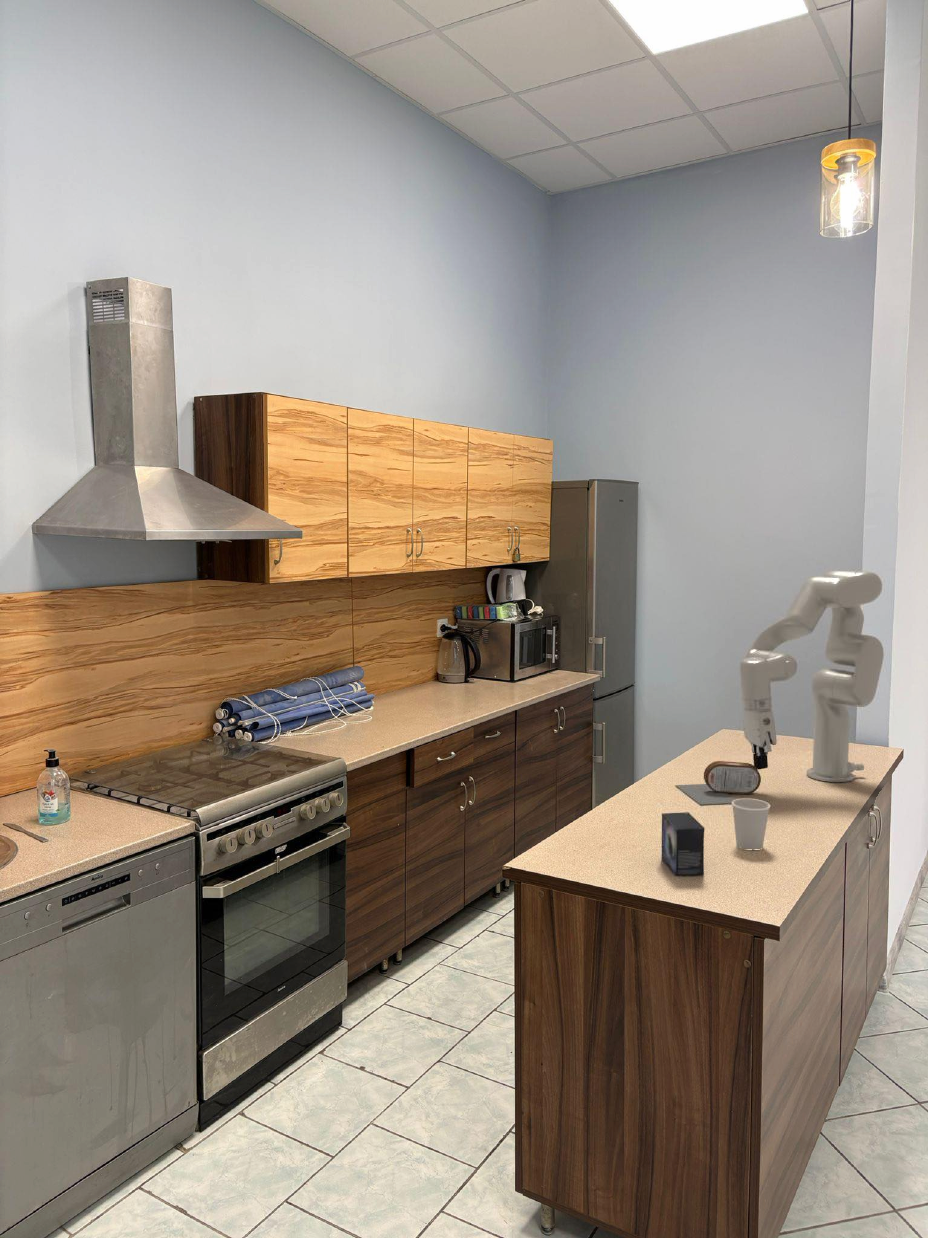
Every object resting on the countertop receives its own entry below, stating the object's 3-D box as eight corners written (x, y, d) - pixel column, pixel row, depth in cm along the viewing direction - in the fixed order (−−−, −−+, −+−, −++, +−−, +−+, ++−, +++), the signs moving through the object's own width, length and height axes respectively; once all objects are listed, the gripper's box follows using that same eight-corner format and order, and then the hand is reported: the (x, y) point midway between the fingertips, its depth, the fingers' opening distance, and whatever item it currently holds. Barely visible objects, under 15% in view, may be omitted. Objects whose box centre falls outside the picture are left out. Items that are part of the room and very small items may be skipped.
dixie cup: (763, 855, 199) (765, 811, 198) (725, 848, 203) (727, 805, 202) (772, 844, 206) (774, 801, 205) (736, 838, 210) (737, 796, 210)
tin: (757, 792, 247) (760, 762, 246) (760, 796, 244) (763, 765, 243) (702, 789, 248) (704, 759, 247) (704, 792, 245) (706, 762, 244)
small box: (659, 859, 197) (659, 812, 196) (688, 858, 198) (689, 811, 197) (674, 877, 187) (675, 828, 186) (704, 876, 187) (706, 827, 186)
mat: (712, 784, 255) (712, 783, 255) (740, 803, 237) (740, 802, 237) (675, 786, 253) (675, 785, 253) (700, 805, 235) (700, 804, 235)
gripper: (784, 707, 237) (787, 774, 240) (756, 694, 252) (760, 757, 255) (757, 712, 236) (761, 778, 239) (731, 699, 251) (735, 762, 254)
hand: (760, 767), depth 247 cm, fingers closed
